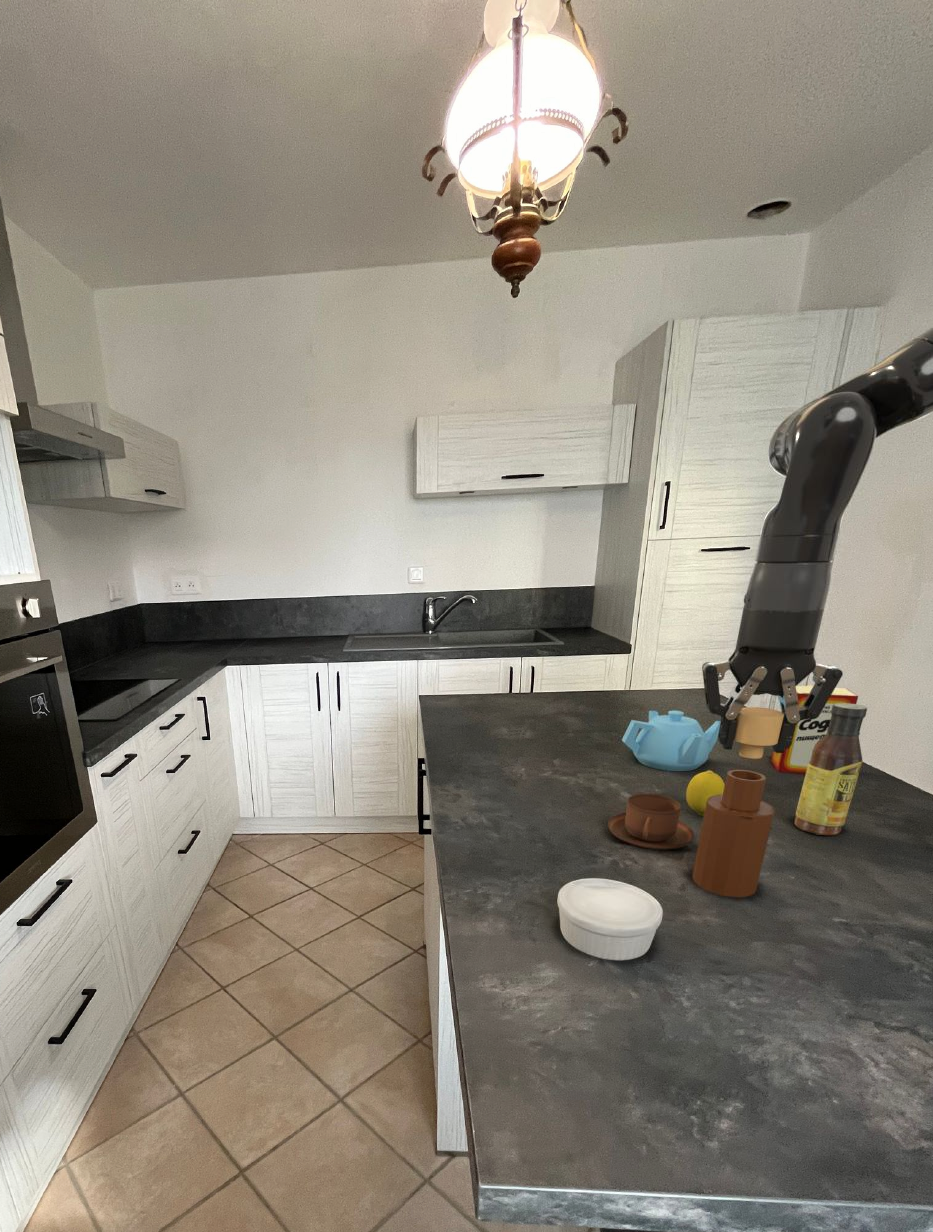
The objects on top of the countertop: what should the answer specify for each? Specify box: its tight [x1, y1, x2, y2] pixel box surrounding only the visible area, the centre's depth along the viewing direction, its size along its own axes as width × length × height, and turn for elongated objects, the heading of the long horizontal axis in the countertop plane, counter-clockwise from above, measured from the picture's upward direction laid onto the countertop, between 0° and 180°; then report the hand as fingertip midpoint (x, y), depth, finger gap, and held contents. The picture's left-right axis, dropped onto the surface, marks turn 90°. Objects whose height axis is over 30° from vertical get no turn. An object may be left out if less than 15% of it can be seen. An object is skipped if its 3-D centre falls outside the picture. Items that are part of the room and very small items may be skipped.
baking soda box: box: [770, 685, 859, 775], centre depth 120 cm, size 10×6×16 cm
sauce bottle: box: [794, 703, 868, 836], centre depth 94 cm, size 6×6×20 cm
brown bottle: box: [692, 769, 776, 898], centre depth 79 cm, size 7×7×16 cm
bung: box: [733, 706, 784, 760], centre depth 75 cm, size 5×5×6 cm
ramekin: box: [556, 877, 664, 961], centre depth 71 cm, size 11×11×5 cm
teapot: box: [621, 710, 721, 772], centre depth 127 cm, size 15×15×11 cm
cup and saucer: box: [607, 793, 695, 851], centre depth 95 cm, size 12×12×6 cm
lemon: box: [685, 770, 725, 817], centre depth 102 cm, size 6×6×8 cm
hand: (752, 748), depth 75 cm, fingers closed on bung, 4 cm apart
